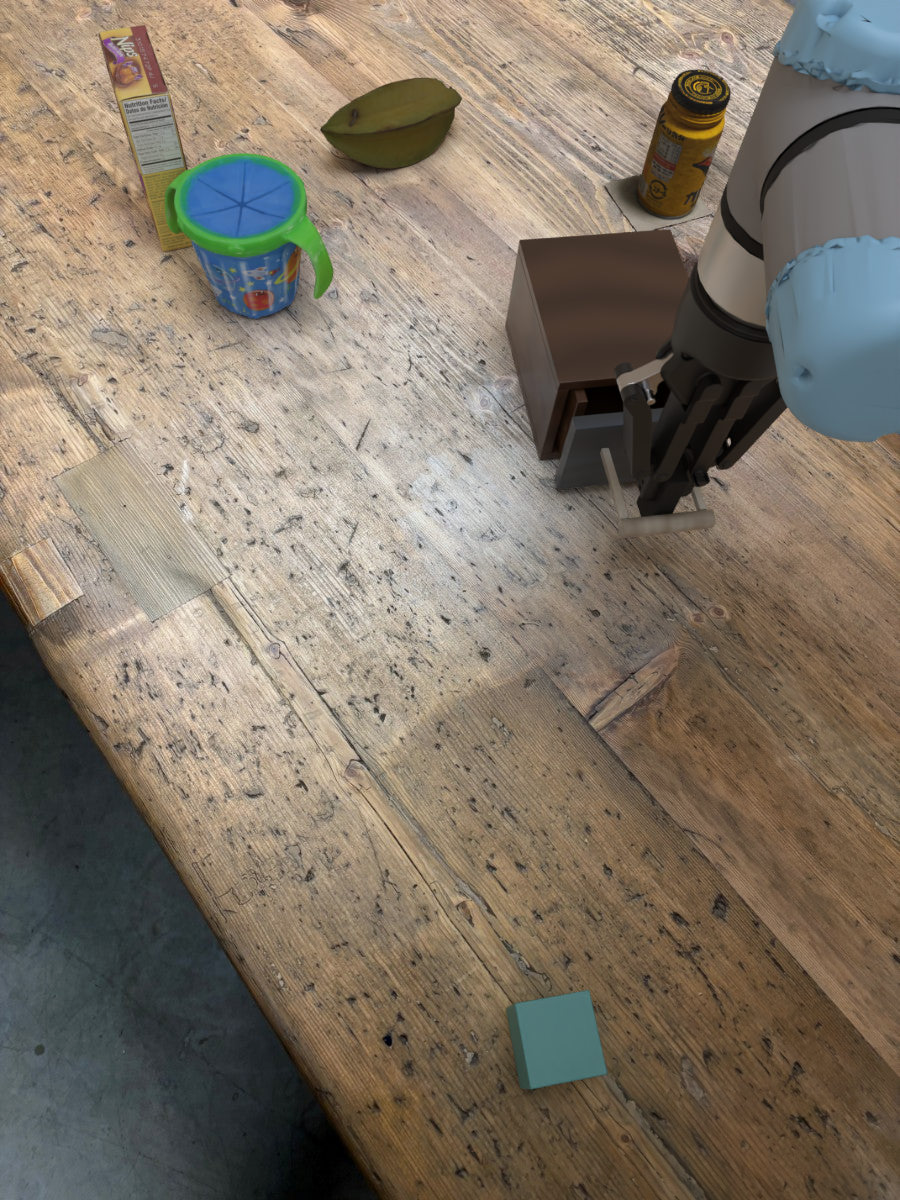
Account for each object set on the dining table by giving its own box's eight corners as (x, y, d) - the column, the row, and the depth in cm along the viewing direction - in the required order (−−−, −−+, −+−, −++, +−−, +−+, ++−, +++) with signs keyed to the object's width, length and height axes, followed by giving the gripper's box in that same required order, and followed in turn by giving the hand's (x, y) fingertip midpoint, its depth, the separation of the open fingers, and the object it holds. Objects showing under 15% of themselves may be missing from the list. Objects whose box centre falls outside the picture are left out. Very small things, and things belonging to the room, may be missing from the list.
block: (592, 1074, 57) (607, 1074, 53) (520, 1088, 56) (530, 1089, 52) (575, 995, 59) (589, 989, 55) (505, 1008, 58) (514, 1003, 54)
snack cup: (149, 283, 83) (121, 187, 74) (228, 219, 87) (210, 120, 78) (285, 368, 80) (273, 278, 71) (361, 296, 84) (358, 203, 75)
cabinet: (686, 445, 79) (723, 368, 70) (539, 461, 77) (559, 383, 68) (641, 315, 85) (670, 228, 77) (504, 326, 84) (519, 239, 75)
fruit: (440, 196, 91) (444, 135, 85) (320, 172, 91) (316, 110, 85) (463, 122, 96) (468, 59, 90) (349, 100, 96) (347, 36, 90)
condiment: (712, 214, 92) (755, 101, 81) (638, 235, 90) (673, 122, 79) (675, 167, 95) (712, 52, 84) (602, 186, 93) (631, 70, 82)
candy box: (139, 189, 88) (95, 28, 75) (184, 181, 89) (149, 21, 76) (158, 254, 85) (116, 98, 71) (206, 245, 86) (173, 89, 72)
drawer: (722, 556, 73) (758, 501, 66) (579, 573, 71) (601, 518, 64) (651, 348, 82) (676, 280, 75) (523, 359, 81) (537, 291, 74)
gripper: (849, 225, 53) (716, 466, 74) (628, 241, 51) (556, 484, 72) (899, 325, 49) (745, 548, 70) (665, 346, 48) (579, 568, 69)
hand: (650, 515), depth 71 cm, fingers closed
